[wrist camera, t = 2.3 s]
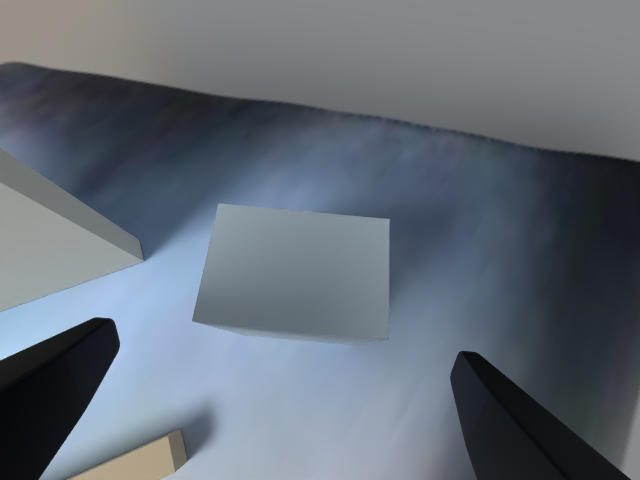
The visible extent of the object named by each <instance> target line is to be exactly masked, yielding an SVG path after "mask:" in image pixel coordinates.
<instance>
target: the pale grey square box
mask: <svg viewBox="0 0 640 480" xmlns="http://www.w3.org/2000/svg"><path fill="white" fill-rule="evenodd" d="M389 235H390V219H382V218H371V217H360V216H349V215H338V214H327V213H316V212H305V211H295V210H284V209H273V208H262V207H251V206H240V205H229V204H218V208H217V213H216V217H215V222H214V226H213V230H212V235H211V239H210V244H209V248H208V253H207V257H206V261H205V266H204V270H203V275H202V279H201V284H200V288H199V292H198V297H197V301H196V306H195V310H194V315H193V319H192V321H194V322H197V323H201V324H205V325H208V326H212V327H216V328H219V329H223V330H227V331H231V332H234V333H238V334H242V335H245V336H254V337H265V338H276V339H287V340H298V341H309V342H320V343H331V344H342V345H357V344H363V343H369V342H374V341H380V340H386V339H389Z"/></svg>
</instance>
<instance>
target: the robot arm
mask: <svg viewBox="0 0 640 480" xmlns="http://www.w3.org/2000/svg"><path fill="white" fill-rule="evenodd" d="M119 347H120V341H119V337H118V333H117V329H116V325H115V322H114V321H113V320H112V319H110V318H99V317H97V318H93V319H90V320H88V321H86V322H84V323H81V324H79V325H77V326H75V327H73V328H70V329H68V330H66V331H64V332H62V333H60V334H57V335H55V336H53V337H51V338H49V339H46V340H44V341H42V342H40V343H38V344H35V345H33V346H31V347H29V348H27V349H24V350H22V351H20V352H18V353H16V354H13V355H11V356H9V357H7V358H5V359H3V360H0V480H39V478H40V477H41V475H42V474H43V472H44V471H45V469H46V468H47V467H48V465H49V464H50V462H51V461H52V459H53V458H54V456H55V455H56V453H57V452H58V450H59V449H60V447H61V446H62V444H63V443H64V441H65V440H66V439H67V437H68V436H69V434H70V433H71V431H72V430H73V428H74V427H75V425H76V424H77V422H78V421H79V419H80V418H81V416H82V415H83V413H84V412H85V410H86V408H87V407H88V405H89V403H90V402H91V400H92V398H93V396H94V394H95V393H96V391H97V389H98V387H99V385H100V384H101V382H102V380H103V378H104V376H105V375H106V373H107V371H108V369H109V367H110V366H111V364H112V362H113V360H114V358H115V357H116V355H117V353H118V351H119ZM450 380H451V386H452V390H453V394H454V398H455V403H456V407H457V411H458V416H459V420H460V424H461V429H462V433H463V437H464V441H465V445H466V448H467V451H468V454H469V457H470V460H471V463H472V466H473V469H474V472H475V475H476V478H477V480H631V479H630V478H628V477H627V476H626V475H625V474H624V473H622V472H621V471H620V470H619V469H618V468H616V467H615V466H614V465H613V464H611V463H610V462H609V461H608V460H607V459H605V458H604V457H603V456H602V455H601V454H599V453H598V452H597V451H596V450H595V449H593V448H592V447H591V446H590V445H589V444H587V443H586V442H585V441H584V440H582V439H581V438H580V437H579V436H578V435H576V434H575V433H574V432H573V431H572V430H570V429H569V428H568V427H567V426H566V425H564V424H563V423H562V422H561V421H559V420H558V419H557V418H556V417H555V416H553V415H552V414H551V413H550V412H549V411H547V410H546V409H545V408H544V407H543V406H541V405H540V404H539V403H538V402H536V401H535V400H534V399H533V398H532V397H530V396H529V395H528V394H527V393H526V392H524V391H523V390H522V389H521V388H520V387H518V386H517V385H516V384H515V383H513V382H512V381H511V380H510V379H509V378H507V377H506V376H505V375H504V374H503V373H501V372H500V371H499V370H498V369H497V368H495V367H494V366H493V365H492V364H491V363H489V362H488V361H487V360H486V359H484V358H483V357H482V356H481V355H480V354H478V353H476V352H469V351H461V352H459V353H458V355H457V358H456V361H455V363H454V366H453V369H452V371H451V376H450Z"/></svg>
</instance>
